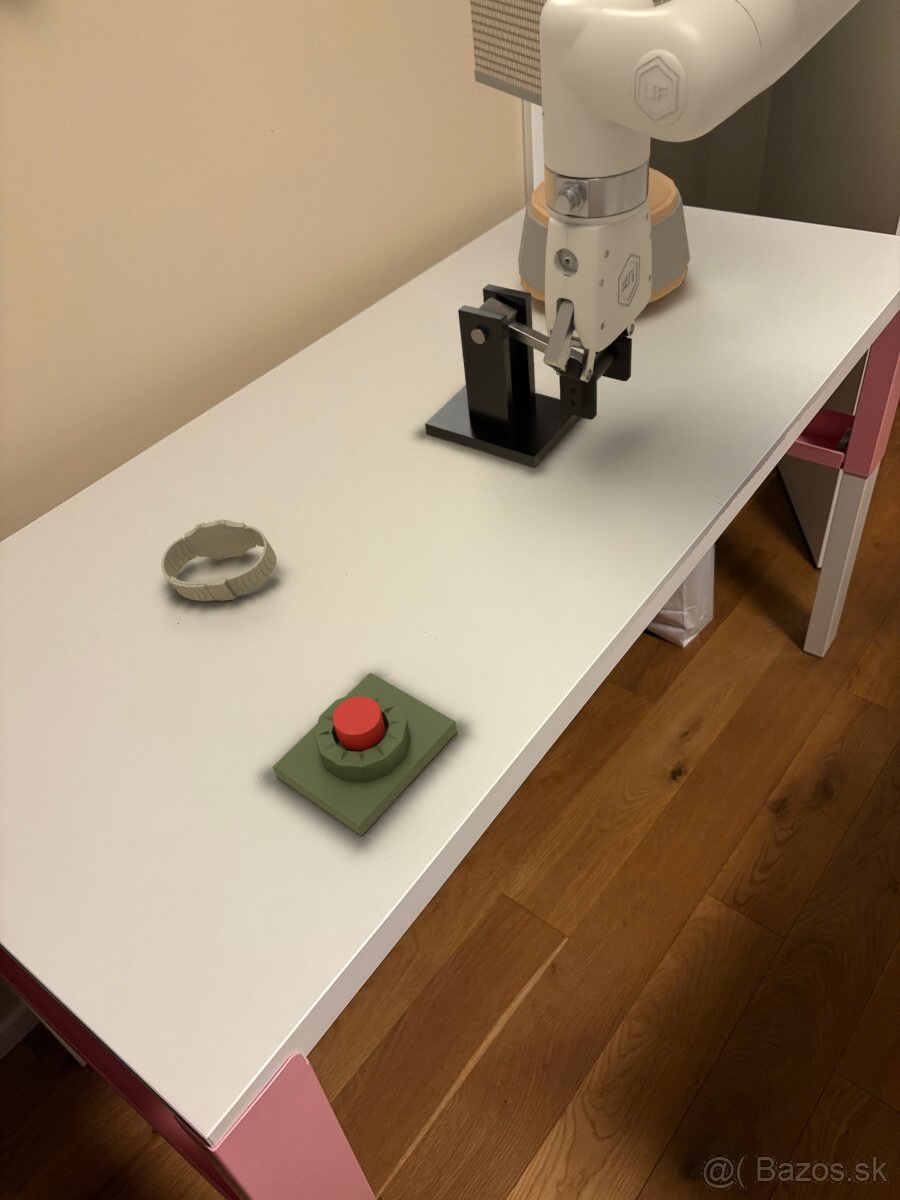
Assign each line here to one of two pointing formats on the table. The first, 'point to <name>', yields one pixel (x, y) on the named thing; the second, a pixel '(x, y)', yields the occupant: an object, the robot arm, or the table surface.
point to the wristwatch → (219, 544)
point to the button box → (366, 756)
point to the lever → (546, 337)
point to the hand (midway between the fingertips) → (596, 393)
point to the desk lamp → (512, 65)
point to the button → (359, 723)
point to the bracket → (500, 389)
